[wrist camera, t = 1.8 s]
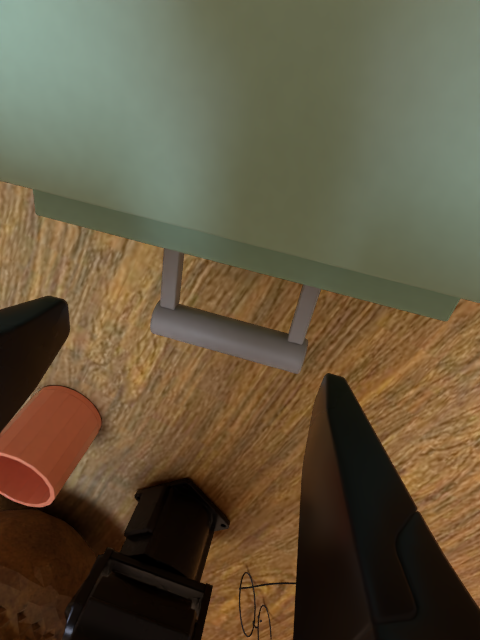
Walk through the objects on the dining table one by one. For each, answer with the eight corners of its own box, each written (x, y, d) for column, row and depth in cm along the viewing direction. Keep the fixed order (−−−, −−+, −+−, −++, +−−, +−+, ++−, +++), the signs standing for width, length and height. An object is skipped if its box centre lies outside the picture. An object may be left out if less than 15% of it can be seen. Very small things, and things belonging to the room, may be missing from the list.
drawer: (372, 307, 21) (383, 437, 14) (146, 247, 22) (49, 341, 15) (617, -270, 11) (1133, -885, 4) (170, -328, 12) (-102, -893, 5)
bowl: (45, 574, 53) (-47, 733, 40) (-60, 478, 45) (-214, 639, 32) (166, 575, 45) (98, 770, 33) (66, 460, 37) (-73, 659, 25)
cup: (115, 427, 33) (70, 499, 28) (71, 443, 36) (22, 512, 30) (66, 376, 31) (7, 443, 26) (22, 397, 34) (-39, 463, 28)
